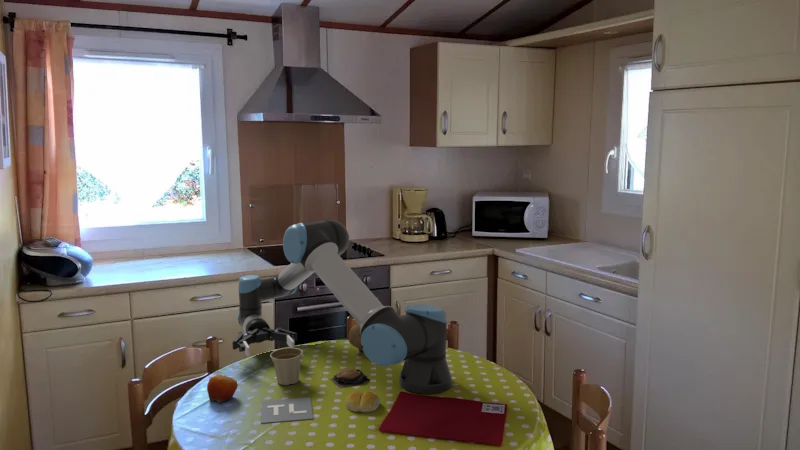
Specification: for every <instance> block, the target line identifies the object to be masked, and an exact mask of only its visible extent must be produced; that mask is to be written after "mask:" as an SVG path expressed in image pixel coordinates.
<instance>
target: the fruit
mask: <svg viewBox="0 0 800 450" xmlns="http://www.w3.org/2000/svg"><path fill="white" fill-rule="evenodd" d="M238 386H239V384H238V381H237V380H236V379H234V378H233V377H231V376H227V375H223V374H216V375H214V376H211V377H210V378H209V379H208V381H207V385H206V391H207V395H208V399H209V402H212V401H216V402H218V403H219V405H220V406H222V405H221V404H222V402H225V401H229V400H230V399H232V398H233V396H234V395H235V392H236V391H237V389H238Z"/></svg>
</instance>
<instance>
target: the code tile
mask: <svg viewBox="0 0 800 450" xmlns="http://www.w3.org/2000/svg"><path fill="white" fill-rule="evenodd" d="M305 420H307V421H308V420H314V414H313V405H312V399H311V397H310V396H309V397H308V396H307V397H297V398H284V399H273V400H272V399H271V400H261V419H260V424H273V423H283V422H295V421H297V422H298V421H305Z"/></svg>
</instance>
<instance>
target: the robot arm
mask: <svg viewBox="0 0 800 450" xmlns="http://www.w3.org/2000/svg"><path fill="white" fill-rule="evenodd" d="M349 245H350V235H349V231H348V230H347V228H346V227H345V225H344V224H342V222H339V221H338V220H334V219H325V220H318V221H309V222H298V223H296V224H292V225H290V226H289V227H288V228H287V229H286V230H285V232H284V234H283V239H282V248H283V253H284V256H285V258H286V260H287V261H288V262H289V263H290V264H288V265H287V266H286V267H284V269H282V271H280V272H279V273H278V274H277V275H276V276H273V277H272V276H271V277H269V278H267V277H266V278H264V279H261V277H260V276H259V275H256V274H250V275H248V274H247V275H244V276H241V277H239V279H238V290H237V291H238V298H239V299H238V300H239V310H238V311H239V312H238V314H237V321H238V322H237V323H238V324H239V326H240V328H241V329H242V330H243V331H239V332H238V335H236V337H235V338H234V339H233V340H232V344H231V345H232V350H234V351H235V350H237V349H238V351H239V352H244V354H245V355H246V356H247V357H248V358H249V357H250V356H251V352H250V351H251V350H250V345H251V344H255V343H256V344H259V343H263V342H264V341H268V342H269V341H271V342H273V341H279V342H284V343H286V345H287V346H288V348H295V344H296V342H298V333H297V332H296V331H295V332H294V331H291V330H289V329H284V328H282V327H280V326H278V327H276V329H272V328H271V327H270V325H269V323H268V322H266V320H265V318H263V314H262V313H263V312H262V311H263V310H262V308H263V307H262V306H263V302H266V301H269V300H272V299H278V298H282V297H289V296H290V295H293V294H296V293H297V289H298V287H299V285H301V283H303V282H304V281H305V280H306V279H308V278H309V277H310V276H312V275H313V274H316V275H317V276H318V277H319V278H320V280H321V281H322V282H323V284H325V286H326V288H328V289H329V291H330V292H331V293H332V294H333V295H334V297H335V298H336V300H338V302H339V303H340V304H341V305H342V306H343V307H344V308H345V310H346V311H347V312H348V313H349V315H350V316H351V317H352V318H353V319H354V320H355V322H356V324H357V323H358V324H359V325H360V326H361V328H360V335H361V345H362V346H363V347H364V348H363V351H362V352H363V353H364V355H365V357H366V358H367V359H368V360H369V361H370V362H372V363H373V364H375V365H376V366H379V367H390V366H393V365H398V364H401V363H402V362H403V365H402V368H401V370H400V374H399V386H400V387H401V388H402V389H403V390H405V391H408V392H410V393H415V394H421V395H431V394H438V393H442V392H446V391H447V390H449V389H450V388H451V387H452V374H451V371H450V368H449V365H448V361H447V325H448V322H447V312H446V311H445V310H444V309H443V308H441V307H439V306H434V305H431V304H430V305H428V304H409V305H407V306H405V307H406V309H405V314H404V315H400V314H399V313H398V312H397V311H396V310H395V309H394V307H392V306H390V305H384V304H382V302H381V301H380V300H379V299H378V297H377V296H375V294H374V293H373V292H372V291H371V290H370V288H368V286H367V285H366V284H365V283H364V282H363V281H362V280H361V278H360V277H359V276H358V275H357V274H356V273H355V272H354V270H353V269H351V267H350V266H349V265H348V264H347V262H345V261H344V259H343V258H342V257H341V256H342V255H343V254H344V253H345V252H346V250H347V249H348V248H349Z"/></svg>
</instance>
